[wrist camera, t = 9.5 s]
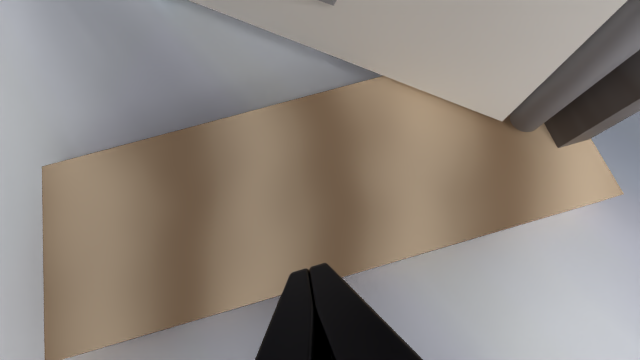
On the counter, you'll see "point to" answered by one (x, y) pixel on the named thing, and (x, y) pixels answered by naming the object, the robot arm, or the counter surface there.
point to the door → (465, 45)
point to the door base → (300, 200)
